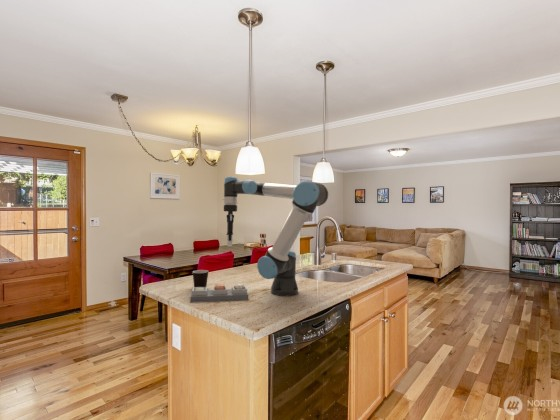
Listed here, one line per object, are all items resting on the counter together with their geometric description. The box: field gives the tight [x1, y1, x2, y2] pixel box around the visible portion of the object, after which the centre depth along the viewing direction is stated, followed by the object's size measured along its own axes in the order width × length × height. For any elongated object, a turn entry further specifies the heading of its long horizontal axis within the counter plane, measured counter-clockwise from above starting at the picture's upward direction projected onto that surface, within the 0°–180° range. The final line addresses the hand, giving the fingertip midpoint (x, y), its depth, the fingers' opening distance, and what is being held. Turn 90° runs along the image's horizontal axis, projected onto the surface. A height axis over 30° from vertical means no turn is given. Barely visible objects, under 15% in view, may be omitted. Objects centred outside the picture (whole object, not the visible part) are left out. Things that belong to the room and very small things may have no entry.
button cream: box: [234, 283, 245, 289], centre depth 161 cm, size 5×5×2 cm
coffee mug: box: [192, 269, 209, 287], centre depth 175 cm, size 12×9×10 cm
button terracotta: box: [214, 283, 226, 290], centre depth 159 cm, size 5×5×2 cm
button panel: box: [190, 285, 249, 303], centre depth 159 cm, size 28×12×5 cm, turn 103°
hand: (229, 246), depth 175 cm, fingers closed
